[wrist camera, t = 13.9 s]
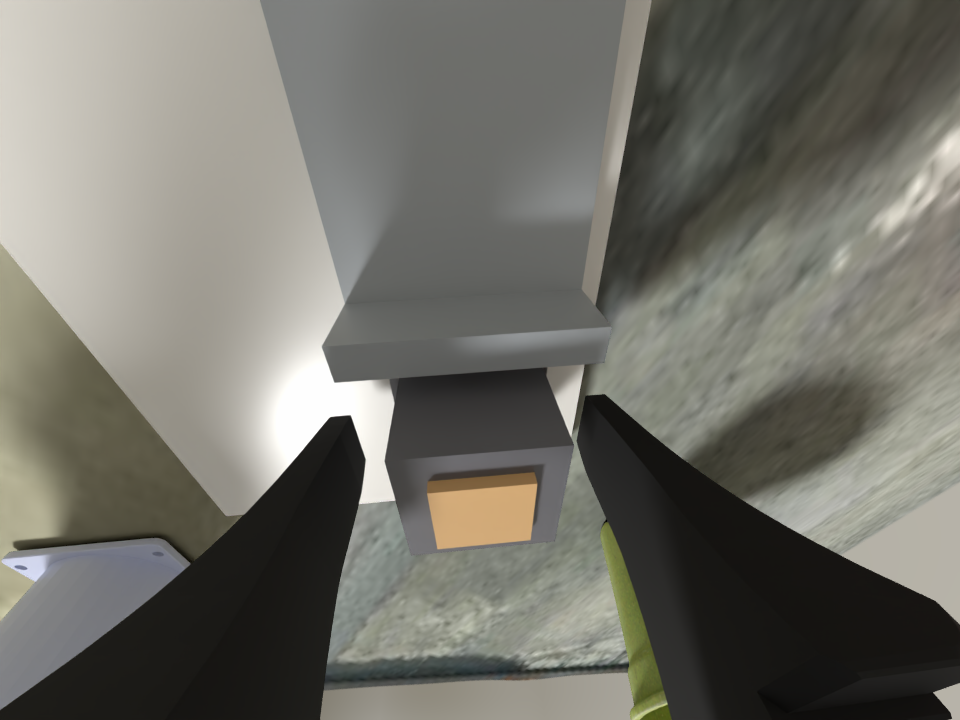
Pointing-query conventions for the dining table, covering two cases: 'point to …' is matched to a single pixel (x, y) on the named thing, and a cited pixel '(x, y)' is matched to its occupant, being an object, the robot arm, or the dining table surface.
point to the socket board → (204, 227)
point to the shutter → (453, 175)
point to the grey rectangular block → (478, 460)
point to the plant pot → (634, 638)
